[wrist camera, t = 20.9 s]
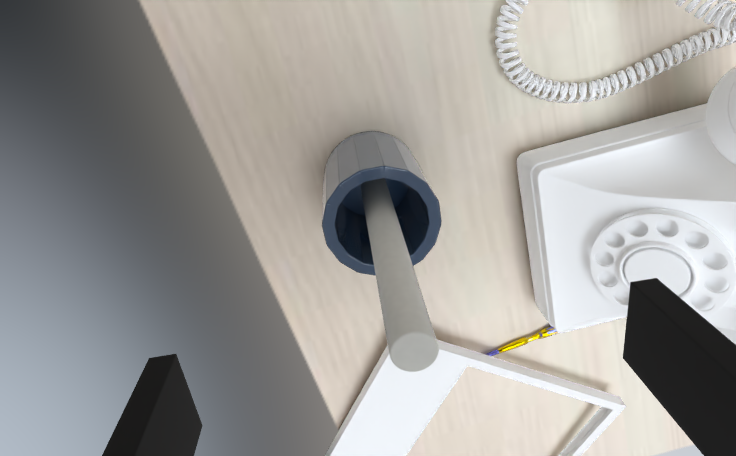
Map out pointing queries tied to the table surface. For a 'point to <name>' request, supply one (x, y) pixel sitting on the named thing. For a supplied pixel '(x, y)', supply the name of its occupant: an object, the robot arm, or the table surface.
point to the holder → (345, 204)
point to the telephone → (633, 194)
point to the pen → (524, 340)
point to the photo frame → (429, 389)
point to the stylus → (397, 284)
